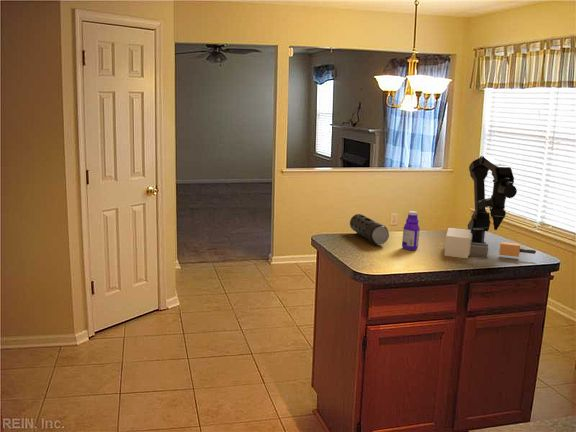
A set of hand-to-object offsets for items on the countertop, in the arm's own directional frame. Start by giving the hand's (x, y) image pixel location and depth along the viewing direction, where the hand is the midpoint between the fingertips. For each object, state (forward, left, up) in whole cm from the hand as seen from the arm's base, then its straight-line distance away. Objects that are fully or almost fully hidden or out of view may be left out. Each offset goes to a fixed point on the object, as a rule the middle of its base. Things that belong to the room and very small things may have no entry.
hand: (495, 227), depth 266 cm
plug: (-3, +12, -10) cm, 16 cm away
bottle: (+34, -15, -12) cm, 39 cm away
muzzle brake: (+44, -35, -12) cm, 58 cm away
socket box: (+13, -2, -12) cm, 18 cm away
